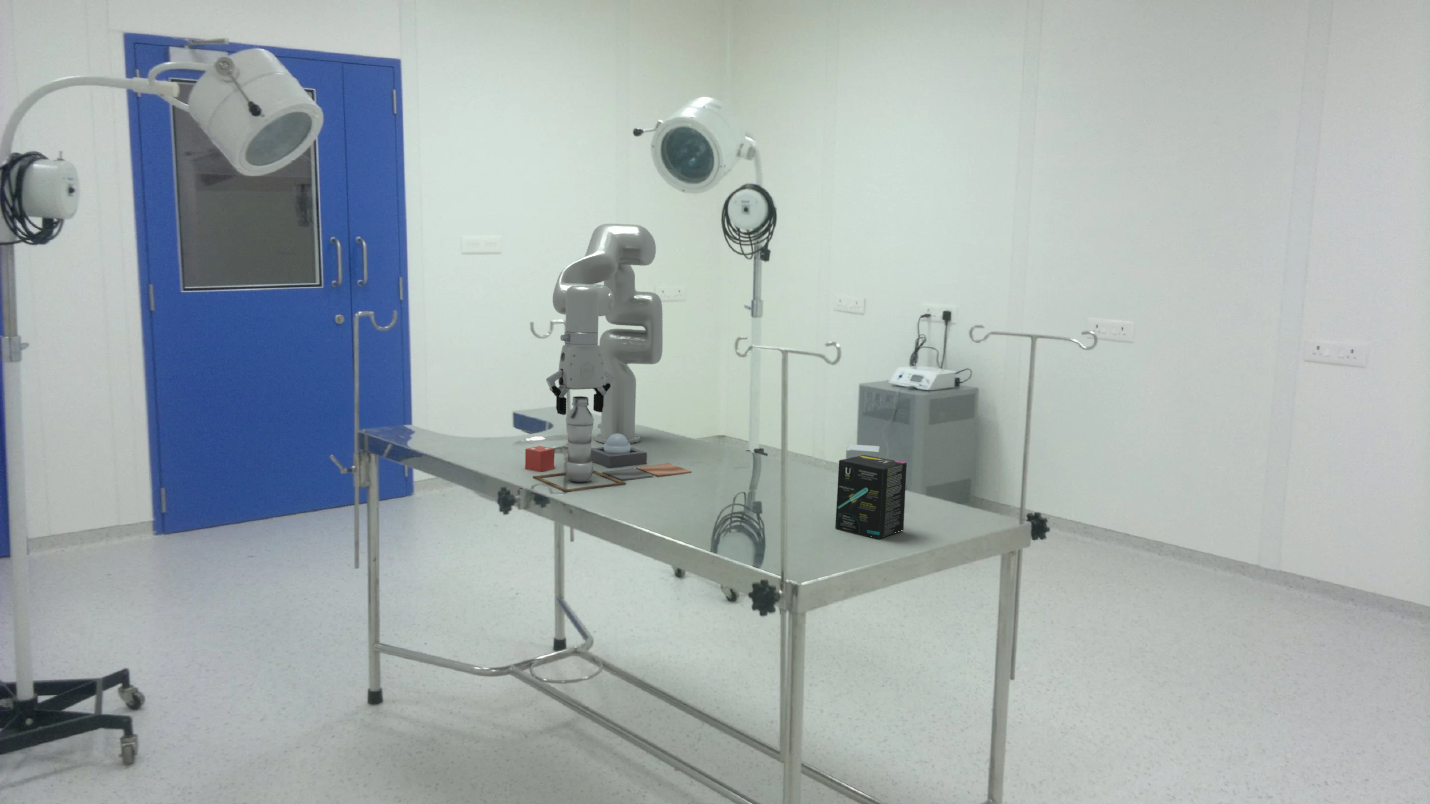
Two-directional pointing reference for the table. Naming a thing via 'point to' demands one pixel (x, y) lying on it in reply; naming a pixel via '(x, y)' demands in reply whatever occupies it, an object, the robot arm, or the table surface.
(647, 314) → the robot arm
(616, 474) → the game track
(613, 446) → the dome
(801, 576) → the table surface
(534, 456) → the red die
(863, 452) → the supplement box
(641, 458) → the grey hollow frame
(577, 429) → the plastic bottle
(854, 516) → the tampon box
